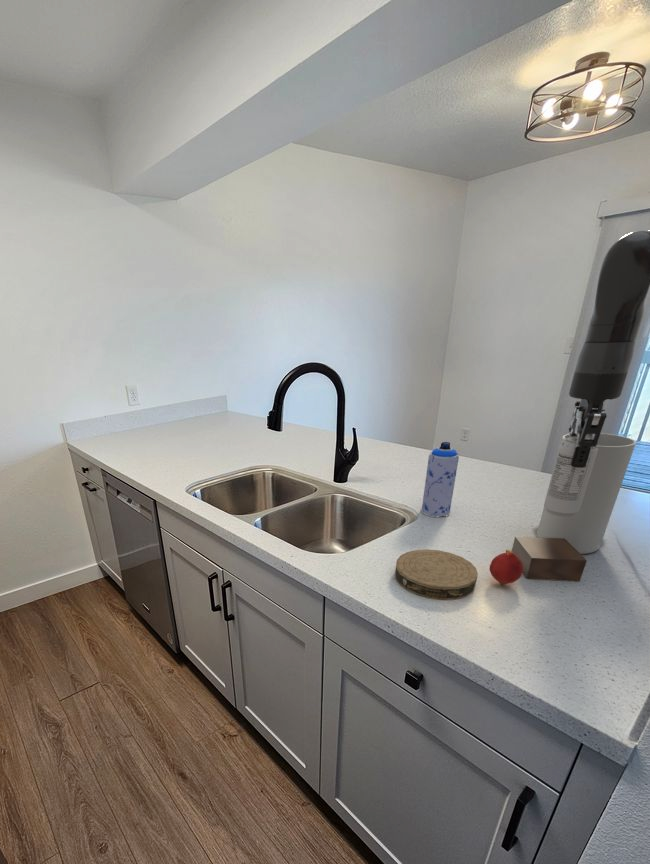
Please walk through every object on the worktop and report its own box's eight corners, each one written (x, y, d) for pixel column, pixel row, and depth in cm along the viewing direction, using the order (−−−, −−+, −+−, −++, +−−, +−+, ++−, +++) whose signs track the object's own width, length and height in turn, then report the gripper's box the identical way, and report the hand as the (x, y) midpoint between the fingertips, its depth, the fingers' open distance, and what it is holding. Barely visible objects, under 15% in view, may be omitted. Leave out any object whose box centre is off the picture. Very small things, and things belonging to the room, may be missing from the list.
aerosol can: (432, 504, 129) (441, 437, 120) (456, 512, 123) (468, 442, 114) (414, 511, 126) (423, 442, 117) (439, 519, 120) (450, 448, 111)
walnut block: (558, 558, 98) (564, 538, 96) (579, 581, 89) (587, 560, 87) (510, 556, 100) (514, 536, 98) (526, 578, 91) (531, 558, 89)
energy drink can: (584, 512, 88) (607, 438, 81) (568, 520, 85) (591, 444, 78) (551, 504, 92) (571, 433, 86) (536, 511, 89) (555, 439, 83)
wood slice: (430, 554, 103) (432, 543, 101) (492, 585, 90) (495, 572, 88) (379, 573, 96) (380, 561, 95) (437, 608, 84) (439, 596, 82)
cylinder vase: (583, 560, 96) (619, 450, 85) (525, 541, 106) (551, 439, 95) (608, 544, 102) (646, 439, 91) (551, 527, 112) (579, 429, 100)
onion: (505, 574, 93) (513, 541, 89) (525, 589, 88) (535, 554, 84) (480, 578, 92) (487, 545, 89) (499, 593, 87) (507, 558, 84)
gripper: (639, 373, 69) (606, 474, 77) (618, 364, 81) (591, 453, 88) (582, 374, 72) (556, 471, 80) (569, 365, 84) (547, 451, 91)
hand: (574, 461), depth 84 cm, fingers closed on energy drink can, 6 cm apart
